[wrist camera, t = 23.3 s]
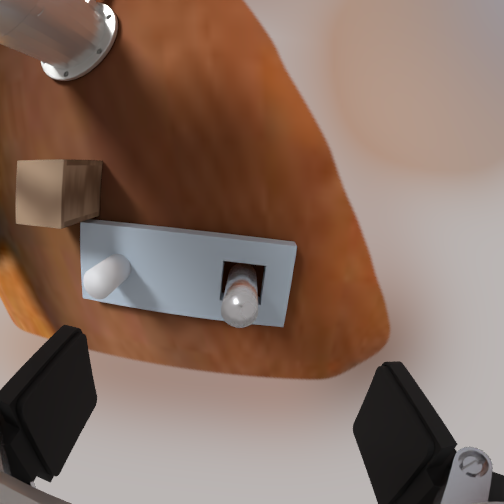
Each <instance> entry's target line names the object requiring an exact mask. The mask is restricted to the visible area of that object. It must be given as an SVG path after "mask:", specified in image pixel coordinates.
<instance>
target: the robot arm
mask: <svg viewBox="0 0 504 504" xmlns="http://www.w3.org/2000/svg"><path fill="white" fill-rule="evenodd" d="M117 30H118V20H117V17H116V14H115V13H114V11H113V10H112V9H111V8H110V7H109V6H107V5H105V4H103V3H99V2H96V0H0V44H2V45H4V46H7V47H9V48H12V49H14V50H17V51H19V52H22V53H24V54H26V55H29V56H31V57H33V58H36V59H38V60H40V61H41V65H42V68H43V70H44V72H45V73H46V74H47V75H48V76H49V77H51V78H53V79H56V80H59V81H70V80H73V79H77V78H79V77H81V76H83V75H85V74H87V73H88V72H90V71H91V70H92V69H93V68H95V67H96V66H97V65H98V64H99V63H100V62H101V61H102V60H103V59H104V58H105V56H106V55H107V53H108V52H109V51H110V49H111V47H112V45H113V43H114V41H115V38H116V35H117ZM96 403H97V395H96V390H95V385H94V380H93V376H92V369H91V364H90V358H89V352H88V345H87V338H86V336H85V334H82V331H81V329H79V328H76V327H72V326H68V325H63V326H62V327H61V328H60V329H59V330H58V331H57V332H56V333H55V334H54V335H53V336H52V337H51V338H50V339H49V340H48V341H47V342H46V343H45V344H44V345H43V346H42V347H41V348H40V349H39V350H38V351H37V352H36V353H35V354H34V355H33V356H32V357H31V358H30V359H29V360H28V361H27V362H26V363H25V364H24V365H23V366H22V367H21V368H20V370H19V371H18V372H17V373H16V374H15V375H14V376H13V377H12V378H11V379H10V380H9V381H8V382H7V383H6V385H5V386H4V387H3V388H2V389H1V390H0V504H71V503H68V502H66V501H64V500H61V499H59V498H56V497H54V496H51V495H49V494H47V493H45V492H42V491H40V490H38V489H36V488H35V484H34V480H35V478H36V476H38V477H40V478H42V479H44V480H46V481H48V482H51V480H52V478H53V476H58V475H59V474H60V472H61V470H62V468H63V466H64V464H65V462H66V460H67V458H68V456H69V454H70V452H71V450H72V448H73V446H74V445H75V443H76V441H77V439H78V437H79V435H80V433H81V431H82V429H83V428H84V426H85V424H86V422H87V420H88V419H89V417H90V415H91V413H92V411H93V409H94V408H95V406H96ZM353 433H354V436H355V438H356V441H357V444H358V447H359V450H360V453H361V455H362V458H363V461H364V464H365V467H366V469H367V473H368V475H369V478H370V481H371V484H372V487H373V490H374V493H375V496H376V499H377V502H378V504H504V476H503V475H500V474H497V473H495V472H492V469H493V468H492V462H491V459H490V458H489V456H488V455H487V454H486V453H485V452H483V451H482V450H480V449H478V448H474V447H464V448H462V449H460V450H459V451H458V452H456V450H455V449H454V448H455V447H456V445H457V443H456V441H455V440H454V438H453V437H452V435H451V434H450V432H449V430H448V429H447V427H446V426H445V424H444V423H443V421H442V420H441V418H440V417H439V416H438V414H437V413H436V411H435V409H434V408H433V406H432V405H431V403H430V402H429V400H428V399H427V398H426V396H425V395H424V393H423V392H422V390H421V389H420V387H419V386H418V385H417V383H416V382H415V380H414V379H413V377H412V376H411V375H410V373H409V372H408V370H407V369H406V368H405V366H404V365H403V364H402V363H401V362H384V363H383V364H382V366H379V367H378V368H377V370H376V372H375V375H374V377H373V380H372V383H371V385H370V388H369V390H368V392H367V395H366V397H365V400H364V402H363V404H362V406H361V409H360V411H359V413H358V415H357V418H356V420H355V422H354V425H353Z"/></svg>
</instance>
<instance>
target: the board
mask: <svg viewBox="0 0 504 504" xmlns="http://www.w3.org/2000/svg"><path fill="white" fill-rule="evenodd" d="M296 250H297V245H296V244H295V242H293V241H285V240H277V239H268V238H260V237H251V236H243V235H234V234H226V233H217V232H208V231H199V230H190V229H181V228H172V227H162V226H153V225H143V224H134V223H124V222H114V221H104V220H94V219H88V220H85V221H82V222H80V253H81V277H82V292H83V298H85V299H90V300H95V301H100V302H105V303H110V304H116V305H121V306H127V307H133V308H138V309H144V310H150V311H157V312H163V313H170V314H176V315H183V316H190V317H197V318H205V319H213V320H221V321H225V320H224V319H223V317H222V315H221V306H222V302H223V297H224V293H222V282H223V272H224V262H225V261H229V262H237V263H246V264H255V265H264V273H263V280H262V288H261V295H260V297H258V316H257V318H256V320H255V321H254V322H253V323H252V324H256V325H266V326H277V327H284V321H285V316H286V310H287V305H288V299H289V293H290V287H291V281H292V275H293V269H294V263H295V257H296Z"/></svg>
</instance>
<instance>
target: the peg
mask: <svg viewBox="0 0 504 504" xmlns="http://www.w3.org/2000/svg"><path fill="white" fill-rule="evenodd" d="M221 315H222V317H223V319H224V320H225V322H226V323H228V324H229V325H231V326H233V327H237V328H243V327H247V326H249V325H251V324H252V323H253V322H254V321H255V320H256V318H257V316H258V293H257V274H256V271H255V269H254V268H253V267H252V266H251V265H249V264H246V263H238V264H236V265H234V266H233V267H232V268H231V269H230V271H229V275H228V280H227V284H226V288H225V293H224V297H223V302H222V306H221Z"/></svg>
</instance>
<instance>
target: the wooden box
mask: <svg viewBox="0 0 504 504" xmlns="http://www.w3.org/2000/svg"><path fill="white" fill-rule="evenodd" d="M101 173H102V161H97V160H24V161H18V162H17V178H16V224H24V225H33V226H42V227H50V228H59V229H62V228H65V227H68V226H70V225H73V224H76V223H79V222H82V221H85V220H88V219H91V218H94V217H97V216H99V206H100V187H101Z"/></svg>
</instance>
